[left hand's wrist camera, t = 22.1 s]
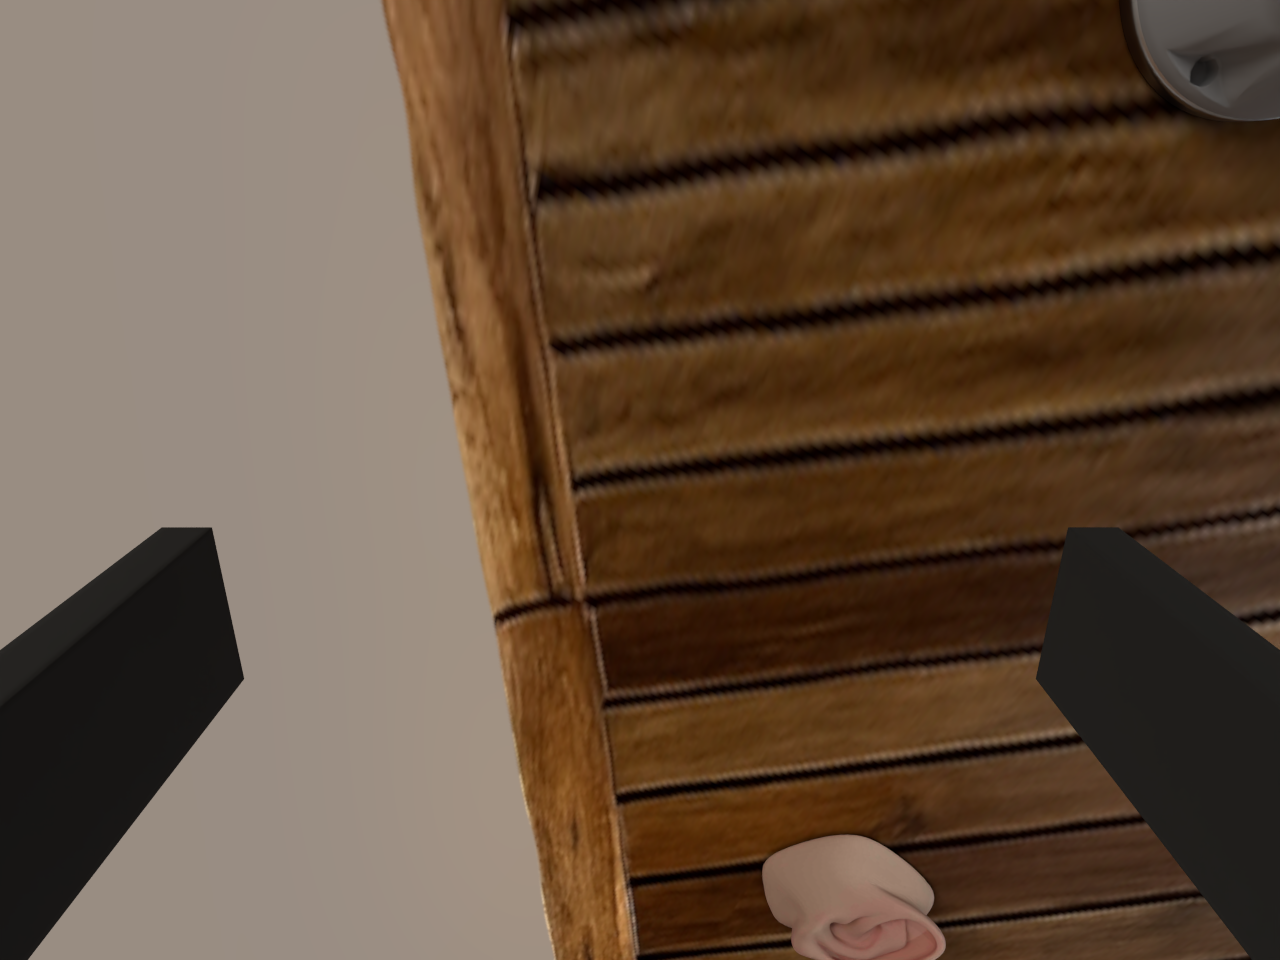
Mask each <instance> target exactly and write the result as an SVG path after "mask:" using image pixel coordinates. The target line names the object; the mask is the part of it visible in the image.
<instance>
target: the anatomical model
mask: <svg viewBox="0 0 1280 960" xmlns="http://www.w3.org/2000/svg"><path fill="white" fill-rule="evenodd" d="M762 875H763V884H764V890H765V895H766V899H767V902H768V904H769V907H770V909H771V911H772V913H773V915H774V917H775V918H776V919H777V920H778V921H779V922H780V923H782V924H784V925H786V926H788V927H790V928H792V936H791V941H792V945H793V948H794V949H795V951H796V952H797V953H799V954H801V955H803V956H806V957H809V958H812V959H815V960H935V959H937V958H938V957H939V956H940V955H941V954H942V953H943V952H944V950H945V947H946V942H945V938H944V936H943V934H942V932H941V930H940V929H939V928H938V926H937V925H936V924H935V923H934V922H933V921H932V920H931V919H930V918H929V917H928V916H926V915H927V914H928V912H929V911H930V909H931V908H932V905H933V902H934V893H933V890H932V888H931V887H930V885H929V884H928V883H927V882H926V880H925V879H924V878H923V877H922V876H921V875H920V874H919V873H918V872H917V871H916V870H915V869H914V868H913V867H912V866H910V865H909V864H908V863H907V862H906V861H904V860H903V859H902V858H900V857H899V856H898V855H896V854H895V853H894V852H892V851H891V850H889V849H888V848H886V847H885V846H883V845H881V844H880V843H878V842H876V841H874V840H871V839H869V838H866V837H863V836H858V835H847V834H846V835H833V836H826V837H822V838H817V839H813V840H809V841H806V842H802V843H799V844H796V845H793V846H790V847H788V848H786V849H783V850H781V851H779V852H777V853H775V854H773V855H772V856H770V857H769V858H768V859H767V860H766V862H765V863H764V866H763V871H762Z"/></svg>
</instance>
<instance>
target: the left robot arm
mask: <svg viewBox="0 0 1280 960" xmlns="http://www.w3.org/2000/svg"><path fill="white" fill-rule="evenodd" d="M1119 5H1120V14H1121V22H1122V26H1123V31H1124V36H1125V39H1126V42H1127V45H1128V48H1129V51H1130V53H1131V55H1132V57H1133V60H1134V62H1135V64H1136V65H1137V67H1138V69H1139V70H1140V72H1141V74H1142V75H1143V77H1144V78H1145V79H1146V81H1147V82H1148V83H1149V84H1150V86H1151V87H1152V88H1153V89H1154V90H1155V91H1156V92H1157V93H1158V94H1159V95H1160V96H1162V97H1163V98H1164V99H1165V100H1167V101H1168V102H1169V103H1171V104H1172V105H1174V106H1176V107H1177V108H1179V109H1181V110H1183V111H1185V112H1187V113H1190V114H1192V115H1195V116H1198V117H1201V118H1204V119H1209V120H1215V121H1223V122H1247V121H1261V120H1270V119H1277V118H1280V0H1119ZM243 680H244V676H243V671H242V667H241V662H240V657H239V653H238V648H237V643H236V639H235V634H234V629H233V625H232V620H231V615H230V610H229V606H228V601H227V596H226V592H225V587H224V582H223V578H222V573H221V568H220V564H219V559H218V554H217V550H216V545H215V540H214V536H213V531H212V528H161V529H159V530H158V531H157V532H155V533H154V534H153V535H151V536H150V537H149V538H147V539H146V540H145V541H143V542H142V543H141V544H140V545H138V546H137V547H136V548H134V549H133V550H132V551H130V552H129V553H128V554H126V555H125V556H124V557H122V558H121V559H120V560H118V561H117V562H116V563H114V564H113V565H112V566H111V567H109V568H108V569H107V570H105V571H104V572H103V573H101V574H100V575H99V576H97V577H96V578H95V579H93V580H92V581H91V582H89V583H88V584H87V585H86V586H84V587H83V588H82V589H80V590H79V591H78V592H76V593H75V594H74V595H72V596H71V597H70V598H68V599H67V600H66V601H64V602H63V603H62V604H60V605H59V606H58V607H57V608H55V609H54V610H53V611H51V612H50V613H49V614H47V615H46V616H45V617H43V618H42V619H41V620H39V621H38V622H37V623H35V624H34V625H33V626H31V627H30V628H29V629H28V630H26V631H25V632H24V633H22V634H21V635H20V636H18V637H17V638H16V639H14V640H13V641H12V642H10V643H9V644H8V645H6V646H5V647H4V648H2V649H1V650H0V960H28V959H29V957H30V956H31V955H32V954H33V952H34V951H35V950H36V948H37V947H38V946H39V945H40V943H41V942H42V941H43V939H44V938H45V937H46V935H47V934H48V933H49V932H50V930H51V929H52V928H53V926H54V925H55V924H56V922H57V921H58V920H59V919H60V917H61V916H62V915H63V913H64V912H65V911H66V909H67V908H68V907H69V906H70V904H71V903H72V902H73V900H74V899H75V898H76V896H77V895H78V894H79V893H80V891H81V890H82V889H83V887H84V886H85V885H86V883H87V882H88V881H89V880H90V878H91V877H92V876H93V874H94V873H95V872H96V870H97V869H98V868H99V867H100V865H101V864H102V863H103V861H104V860H105V859H106V857H107V856H108V855H109V854H110V852H111V851H112V850H113V848H114V847H115V846H116V845H117V843H118V842H119V841H120V839H121V838H122V837H123V835H124V834H125V833H126V832H127V830H128V829H129V828H130V826H131V825H132V824H133V822H134V821H135V820H136V819H137V817H138V816H139V815H140V813H141V812H142V811H143V809H144V808H145V807H146V806H147V804H148V803H149V802H150V800H151V799H152V798H153V796H154V795H155V794H156V793H157V791H158V790H159V789H160V787H161V786H162V785H163V783H164V782H165V781H166V780H167V778H168V777H169V776H170V774H171V773H172V772H173V771H174V769H175V768H176V767H177V765H178V764H179V763H180V761H181V760H182V759H183V757H184V756H185V755H186V754H187V752H188V751H189V750H190V748H191V747H192V746H193V745H194V743H195V742H196V741H197V739H198V738H199V737H200V735H201V734H202V733H203V732H204V730H205V729H206V728H207V726H208V725H209V724H210V722H211V721H212V720H213V719H214V717H215V716H216V715H217V713H218V712H219V711H220V709H221V708H222V707H223V706H224V704H225V703H226V702H227V700H228V699H229V698H230V696H231V695H232V694H233V693H234V691H235V690H236V689H237V687H238V686H239V685H240V684H241V682H242V681H243ZM1036 680H1037V681H1038V682H1039V684H1040V685H1041V686H1042V687H1043V689H1044V690H1045V691H1046V693H1047V694H1048V695H1049V697H1050V698H1051V699H1052V700H1053V702H1054V703H1055V704H1056V706H1057V707H1058V708H1059V709H1060V711H1061V712H1062V713H1063V715H1064V716H1065V717H1066V719H1067V720H1068V721H1069V722H1070V724H1071V725H1072V726H1073V728H1074V729H1075V730H1076V732H1077V733H1078V734H1079V735H1080V737H1081V738H1082V739H1083V741H1084V742H1085V743H1086V745H1087V746H1088V747H1089V748H1090V750H1091V751H1092V752H1093V754H1094V755H1095V756H1096V758H1097V759H1098V760H1099V761H1100V763H1101V764H1102V765H1103V767H1104V768H1105V769H1106V771H1107V772H1108V773H1109V774H1110V776H1111V777H1112V778H1113V780H1114V781H1115V782H1116V783H1117V785H1118V786H1119V787H1120V789H1121V790H1122V791H1123V793H1124V794H1125V795H1126V796H1127V798H1128V799H1129V800H1130V802H1131V803H1132V804H1133V806H1134V807H1135V808H1136V809H1137V811H1138V812H1139V813H1140V815H1141V816H1142V817H1143V819H1144V820H1145V821H1146V822H1147V824H1148V825H1149V826H1150V828H1151V829H1152V830H1153V832H1154V833H1155V834H1156V835H1157V837H1158V838H1159V839H1160V841H1161V842H1162V843H1163V845H1164V846H1165V847H1166V848H1167V850H1168V851H1169V852H1170V854H1171V855H1172V856H1173V858H1174V859H1175V860H1176V861H1177V863H1178V864H1179V865H1180V867H1181V868H1182V869H1183V870H1184V872H1185V873H1186V874H1187V876H1188V877H1189V878H1190V880H1191V881H1192V882H1193V883H1194V885H1195V886H1196V887H1197V889H1198V890H1199V891H1200V893H1201V894H1202V895H1203V896H1204V898H1205V899H1206V900H1207V902H1208V903H1209V904H1210V906H1211V907H1212V908H1213V909H1214V911H1215V912H1216V913H1217V915H1218V916H1219V917H1220V919H1221V920H1222V921H1223V922H1224V924H1225V925H1226V926H1227V928H1228V929H1229V930H1230V932H1231V933H1232V934H1233V935H1234V937H1235V938H1236V939H1237V941H1238V942H1239V943H1240V945H1241V946H1242V947H1243V948H1244V950H1245V951H1246V952H1247V954H1248V955H1249V956H1250V957H1251V959H1252V960H1280V650H1279V649H1278V648H1276V647H1275V646H1274V645H1272V644H1271V643H1270V642H1268V641H1267V640H1266V639H1264V638H1263V637H1262V636H1260V635H1259V634H1258V633H1256V632H1255V631H1254V630H1253V629H1251V628H1250V627H1249V626H1247V625H1246V624H1245V623H1243V622H1242V621H1241V620H1239V619H1238V618H1237V617H1235V616H1234V615H1233V614H1231V613H1230V612H1229V611H1227V610H1226V609H1225V608H1224V607H1222V606H1221V605H1220V604H1218V603H1217V602H1216V601H1214V600H1213V599H1212V598H1210V597H1209V596H1208V595H1206V594H1205V593H1204V592H1202V591H1201V590H1200V589H1198V588H1197V587H1196V586H1195V585H1193V584H1192V583H1191V582H1189V581H1188V580H1187V579H1185V578H1184V577H1183V576H1181V575H1180V574H1179V573H1177V572H1176V571H1175V570H1173V569H1172V568H1171V567H1169V566H1168V565H1167V564H1166V563H1164V562H1163V561H1162V560H1160V559H1159V558H1158V557H1156V556H1155V555H1154V554H1152V553H1151V552H1150V551H1148V550H1147V549H1146V548H1144V547H1143V546H1142V545H1140V544H1139V543H1138V542H1137V541H1135V540H1134V539H1133V538H1131V537H1130V536H1129V535H1127V534H1126V533H1125V532H1123V531H1122V530H1121V529H1119V528H1068V531H1067V535H1066V540H1065V545H1064V549H1063V554H1062V559H1061V564H1060V568H1059V573H1058V578H1057V582H1056V587H1055V592H1054V596H1053V601H1052V606H1051V610H1050V615H1049V620H1048V624H1047V629H1046V634H1045V639H1044V643H1043V648H1042V653H1041V657H1040V662H1039V667H1038V671H1037V676H1036Z"/></svg>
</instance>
